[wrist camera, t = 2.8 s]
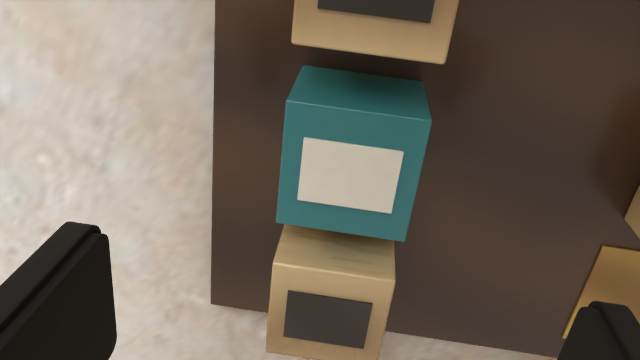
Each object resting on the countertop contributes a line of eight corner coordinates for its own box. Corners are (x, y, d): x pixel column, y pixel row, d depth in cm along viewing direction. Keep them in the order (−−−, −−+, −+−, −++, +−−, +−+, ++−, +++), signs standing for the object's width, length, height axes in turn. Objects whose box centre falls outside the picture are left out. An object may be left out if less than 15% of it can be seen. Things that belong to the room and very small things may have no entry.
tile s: (302, 64, 17) (285, 100, 14) (423, 81, 17) (433, 122, 14) (292, 171, 19) (274, 225, 16) (400, 186, 19) (405, 244, 16)
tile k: (289, 206, 20) (271, 264, 17) (393, 221, 20) (396, 283, 17) (281, 287, 22) (264, 354, 19) (376, 302, 22) (376, 372, 18)
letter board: (223, -200, 15) (216, -205, 14) (1038, -104, 14) (1068, -104, 13) (214, 295, 23) (209, 305, 23) (719, 373, 22) (729, 386, 22)
